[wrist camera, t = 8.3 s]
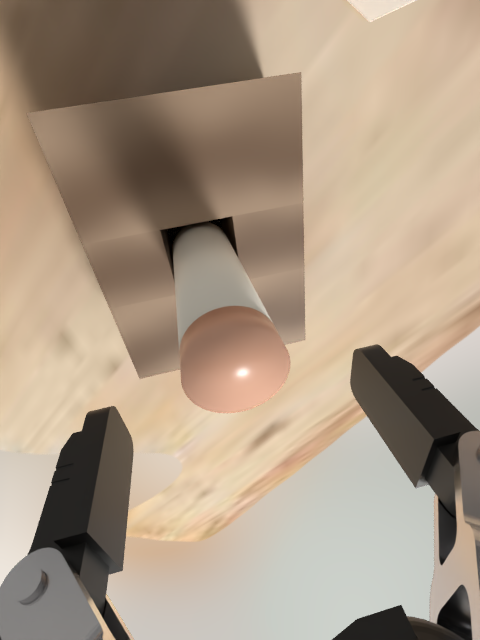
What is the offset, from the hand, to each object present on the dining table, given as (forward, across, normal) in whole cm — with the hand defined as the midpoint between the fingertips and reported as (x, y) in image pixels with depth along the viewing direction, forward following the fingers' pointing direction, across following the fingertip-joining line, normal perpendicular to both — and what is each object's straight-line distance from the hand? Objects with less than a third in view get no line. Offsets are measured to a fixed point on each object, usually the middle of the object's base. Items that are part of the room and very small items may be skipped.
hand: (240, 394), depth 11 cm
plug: (+14, 0, 0) cm, 14 cm away
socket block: (+20, 0, 0) cm, 20 cm away
